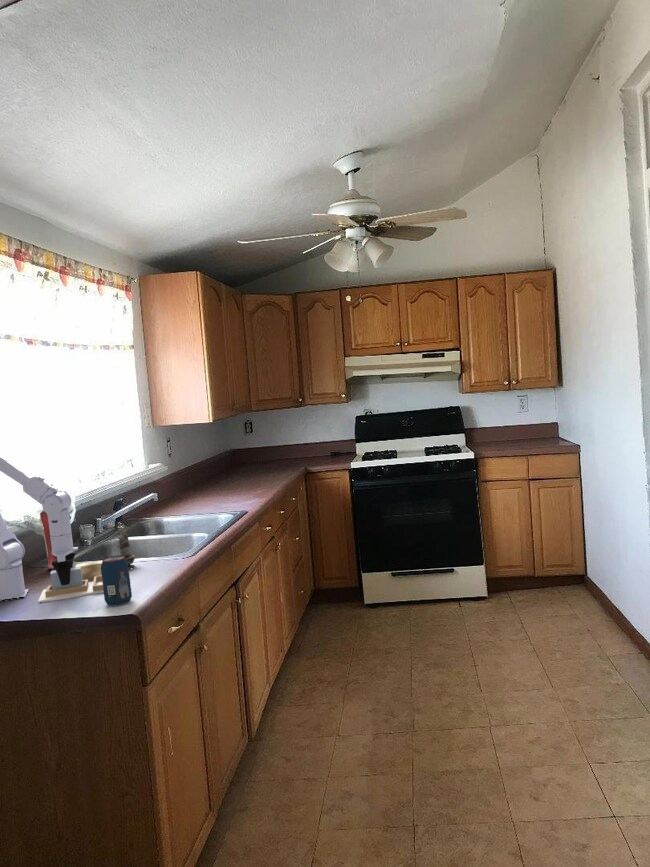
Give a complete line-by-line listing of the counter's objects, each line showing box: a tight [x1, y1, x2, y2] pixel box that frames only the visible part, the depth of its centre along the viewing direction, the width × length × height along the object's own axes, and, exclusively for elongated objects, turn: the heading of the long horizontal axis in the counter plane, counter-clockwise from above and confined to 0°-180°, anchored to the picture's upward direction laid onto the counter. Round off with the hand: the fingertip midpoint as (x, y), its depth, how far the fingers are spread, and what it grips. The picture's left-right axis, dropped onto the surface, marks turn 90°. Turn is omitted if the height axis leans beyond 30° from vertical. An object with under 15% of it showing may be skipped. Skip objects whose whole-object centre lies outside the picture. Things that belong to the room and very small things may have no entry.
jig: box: [37, 575, 104, 604], centre depth 204 cm, size 21×13×2 cm, turn 105°
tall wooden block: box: [74, 560, 102, 582], centre depth 216 cm, size 9×4×5 cm, turn 105°
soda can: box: [101, 554, 133, 607], centre depth 187 cm, size 7×7×12 cm
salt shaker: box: [118, 530, 136, 570], centre depth 226 cm, size 6×6×12 cm
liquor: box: [39, 483, 57, 571], centre depth 235 cm, size 7×7×28 cm
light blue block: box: [49, 566, 83, 590], centre depth 203 cm, size 8×4×6 cm, turn 106°
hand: (66, 581), depth 203 cm, fingers open, 7 cm apart
